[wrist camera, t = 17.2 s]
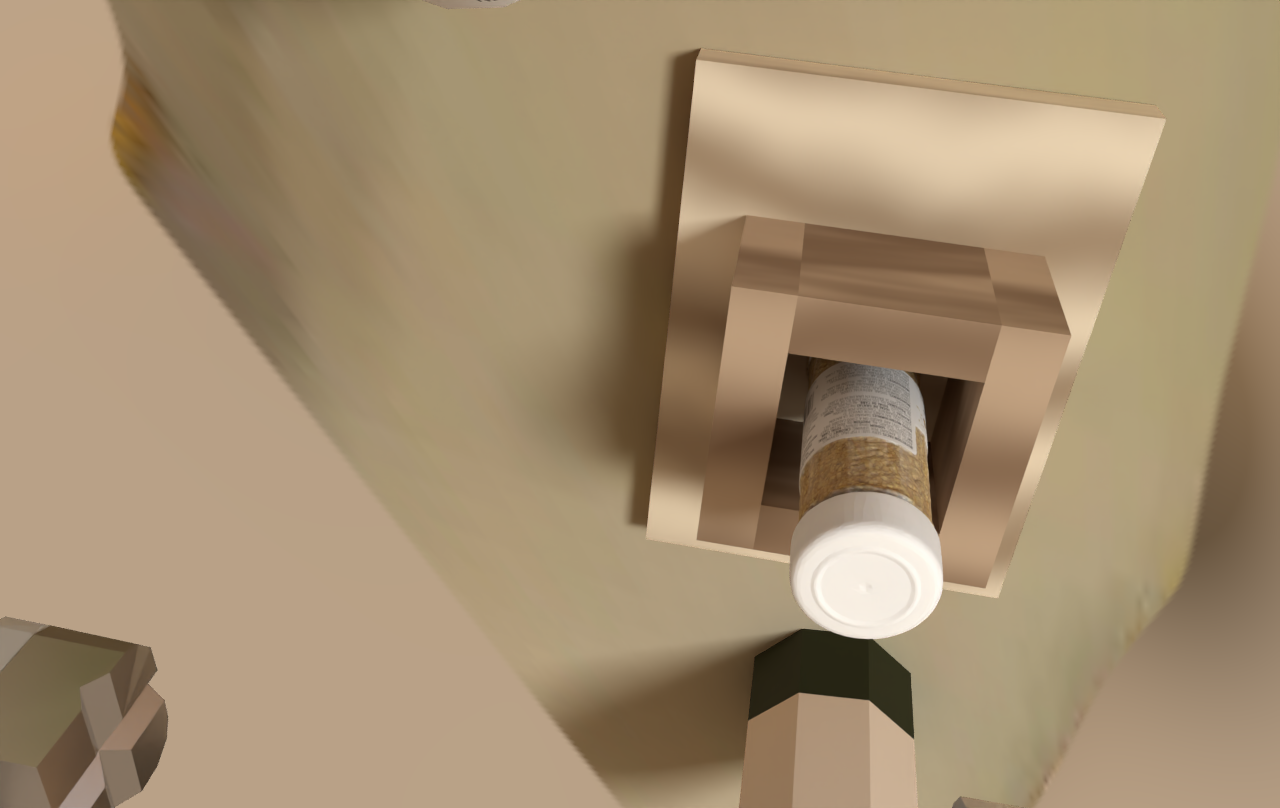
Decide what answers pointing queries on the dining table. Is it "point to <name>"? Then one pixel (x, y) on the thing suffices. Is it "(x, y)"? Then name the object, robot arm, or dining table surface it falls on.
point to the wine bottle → (829, 726)
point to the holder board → (892, 190)
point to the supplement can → (471, 3)
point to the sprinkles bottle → (864, 503)
